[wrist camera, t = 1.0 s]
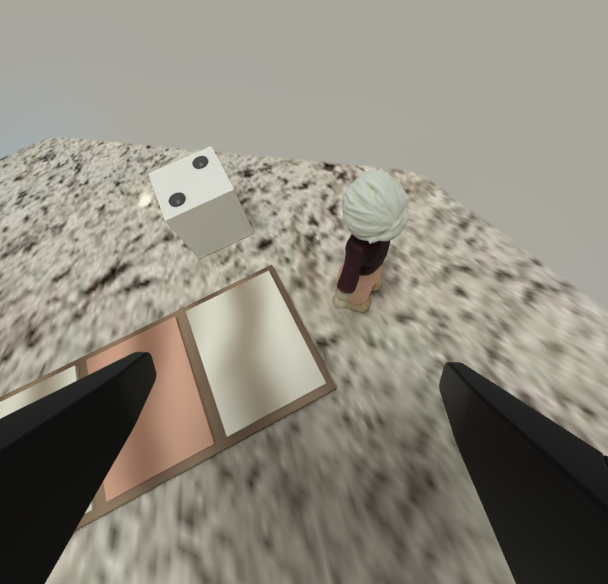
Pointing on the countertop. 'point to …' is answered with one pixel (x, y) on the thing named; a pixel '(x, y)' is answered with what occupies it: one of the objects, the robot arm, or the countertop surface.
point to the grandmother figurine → (368, 235)
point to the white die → (200, 203)
